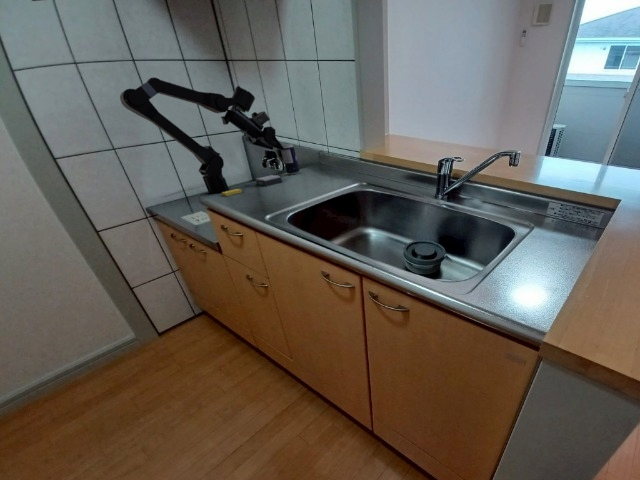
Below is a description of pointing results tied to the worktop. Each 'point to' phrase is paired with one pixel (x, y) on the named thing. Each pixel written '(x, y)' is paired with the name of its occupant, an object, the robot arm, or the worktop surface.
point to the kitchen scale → (268, 180)
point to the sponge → (231, 192)
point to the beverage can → (290, 159)
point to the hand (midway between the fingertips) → (277, 148)
